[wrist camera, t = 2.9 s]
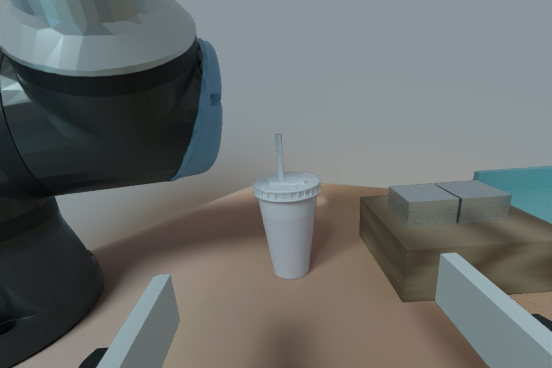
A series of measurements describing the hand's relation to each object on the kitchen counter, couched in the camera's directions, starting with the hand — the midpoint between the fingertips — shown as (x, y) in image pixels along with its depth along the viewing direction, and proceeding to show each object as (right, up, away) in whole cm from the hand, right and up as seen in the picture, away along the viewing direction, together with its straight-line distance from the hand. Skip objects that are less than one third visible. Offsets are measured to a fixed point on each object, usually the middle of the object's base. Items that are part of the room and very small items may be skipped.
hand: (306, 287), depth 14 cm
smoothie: (0, -4, +16) cm, 16 cm away
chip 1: (+13, +2, +14) cm, 19 cm away
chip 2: (+17, +2, +14) cm, 23 cm away
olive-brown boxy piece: (+16, -3, +16) cm, 23 cm away
